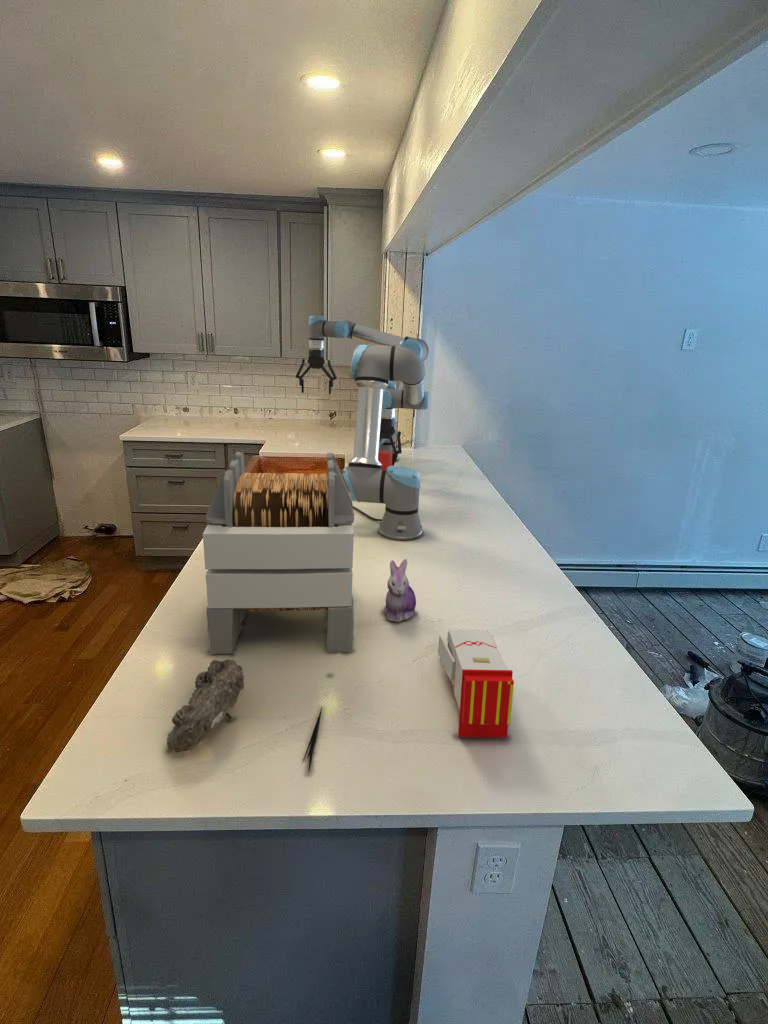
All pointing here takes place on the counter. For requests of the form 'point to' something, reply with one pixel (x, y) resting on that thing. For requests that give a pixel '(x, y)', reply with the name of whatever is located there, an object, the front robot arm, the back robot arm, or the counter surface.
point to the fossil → (206, 705)
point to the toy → (478, 682)
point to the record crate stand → (279, 550)
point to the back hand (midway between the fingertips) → (316, 393)
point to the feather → (313, 740)
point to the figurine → (399, 594)
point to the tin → (385, 458)
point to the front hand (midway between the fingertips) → (383, 468)
